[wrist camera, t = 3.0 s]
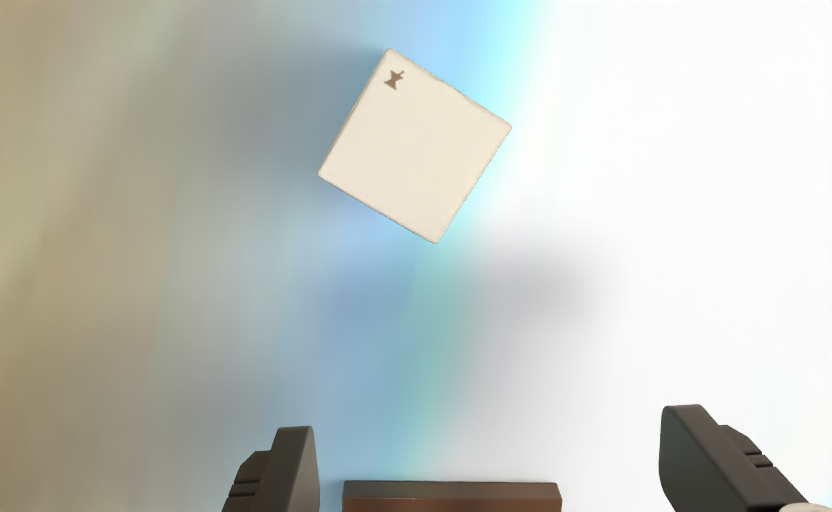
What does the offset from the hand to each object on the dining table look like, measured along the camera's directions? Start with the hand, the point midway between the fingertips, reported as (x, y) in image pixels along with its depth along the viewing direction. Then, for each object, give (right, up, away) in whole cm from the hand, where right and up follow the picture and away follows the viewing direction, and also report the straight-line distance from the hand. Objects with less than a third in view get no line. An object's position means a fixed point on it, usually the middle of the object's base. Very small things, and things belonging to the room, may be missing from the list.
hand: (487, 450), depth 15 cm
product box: (-2, +11, +19) cm, 22 cm away
